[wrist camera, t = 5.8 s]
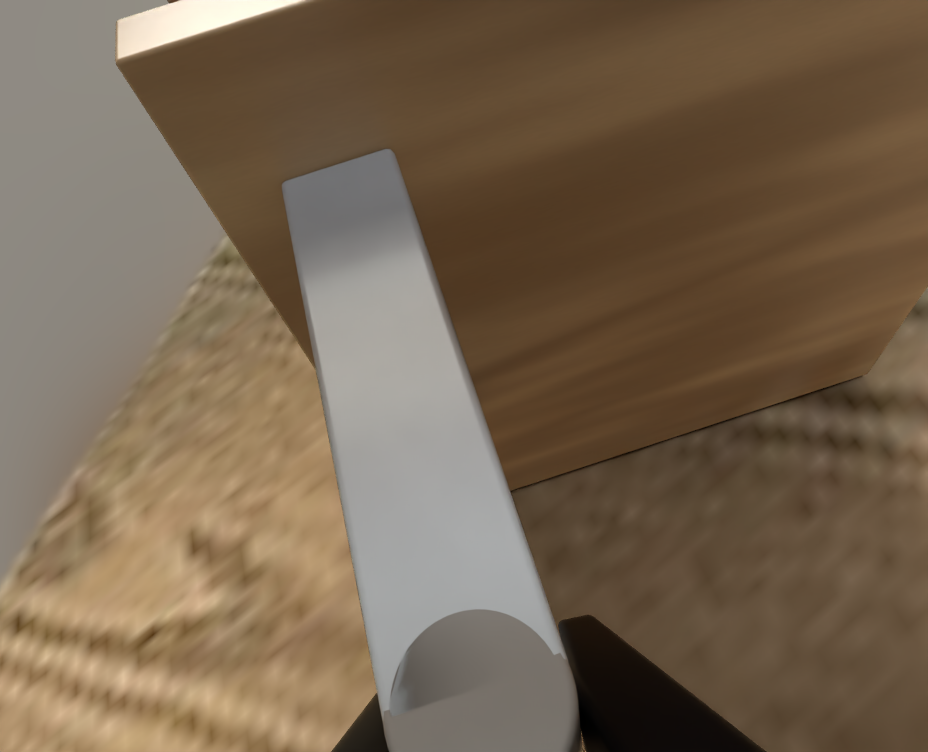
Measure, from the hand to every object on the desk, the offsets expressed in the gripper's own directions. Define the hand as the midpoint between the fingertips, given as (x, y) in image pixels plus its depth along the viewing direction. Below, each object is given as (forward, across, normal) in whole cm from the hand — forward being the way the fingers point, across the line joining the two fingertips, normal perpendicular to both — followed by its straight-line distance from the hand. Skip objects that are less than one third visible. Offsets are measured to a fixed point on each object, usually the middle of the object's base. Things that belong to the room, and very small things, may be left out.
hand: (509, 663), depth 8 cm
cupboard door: (+8, -4, +4) cm, 9 cm away
